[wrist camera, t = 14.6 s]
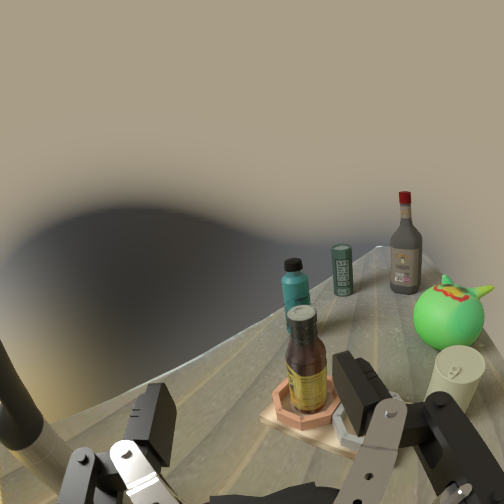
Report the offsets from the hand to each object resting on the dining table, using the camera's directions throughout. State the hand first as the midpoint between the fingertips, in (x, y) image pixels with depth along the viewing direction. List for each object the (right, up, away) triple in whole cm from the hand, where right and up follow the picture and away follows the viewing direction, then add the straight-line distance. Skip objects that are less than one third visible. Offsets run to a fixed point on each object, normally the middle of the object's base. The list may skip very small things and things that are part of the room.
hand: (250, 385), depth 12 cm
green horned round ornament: (+45, -15, +38) cm, 60 cm away
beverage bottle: (+12, -15, +56) cm, 59 cm away
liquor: (+49, -5, +66) cm, 82 cm away
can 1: (+29, -7, +73) cm, 79 cm away
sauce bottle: (+10, -21, +31) cm, 39 cm away
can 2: (+33, -22, +22) cm, 45 cm away
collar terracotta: (+10, -20, +31) cm, 38 cm away
